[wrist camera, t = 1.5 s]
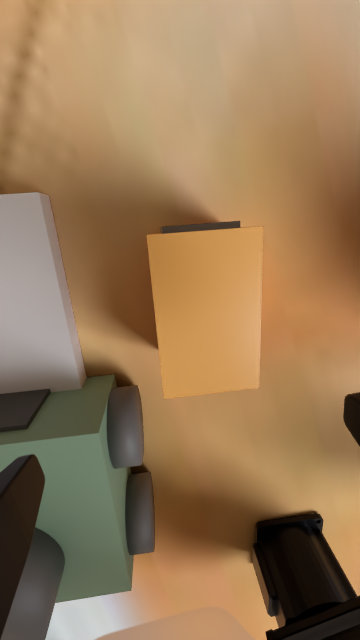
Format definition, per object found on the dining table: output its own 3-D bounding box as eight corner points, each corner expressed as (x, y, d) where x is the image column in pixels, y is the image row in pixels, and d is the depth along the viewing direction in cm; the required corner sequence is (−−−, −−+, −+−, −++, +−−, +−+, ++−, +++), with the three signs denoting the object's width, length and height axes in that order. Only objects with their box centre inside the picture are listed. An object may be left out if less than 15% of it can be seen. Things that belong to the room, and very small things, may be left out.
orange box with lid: (227, 223, 17) (263, 218, 11) (228, 343, 20) (259, 387, 14) (148, 228, 17) (145, 227, 11) (161, 350, 19) (163, 399, 14)
